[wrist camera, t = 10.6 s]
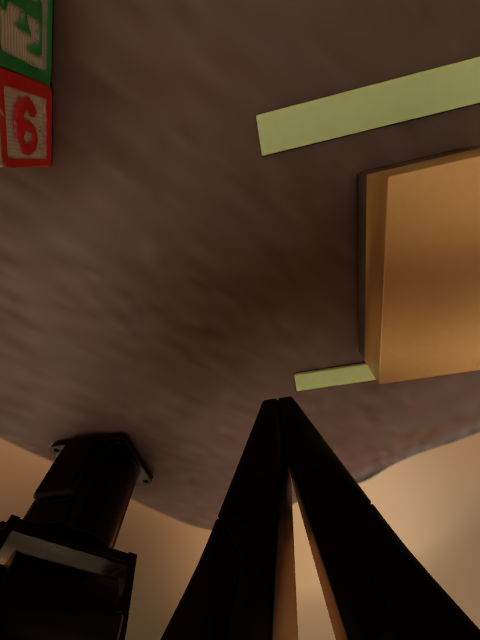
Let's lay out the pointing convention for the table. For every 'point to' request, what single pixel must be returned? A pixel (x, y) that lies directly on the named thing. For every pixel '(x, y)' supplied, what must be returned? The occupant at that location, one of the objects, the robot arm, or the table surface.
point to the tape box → (360, 115)
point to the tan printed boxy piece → (25, 83)
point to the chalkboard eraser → (420, 266)
